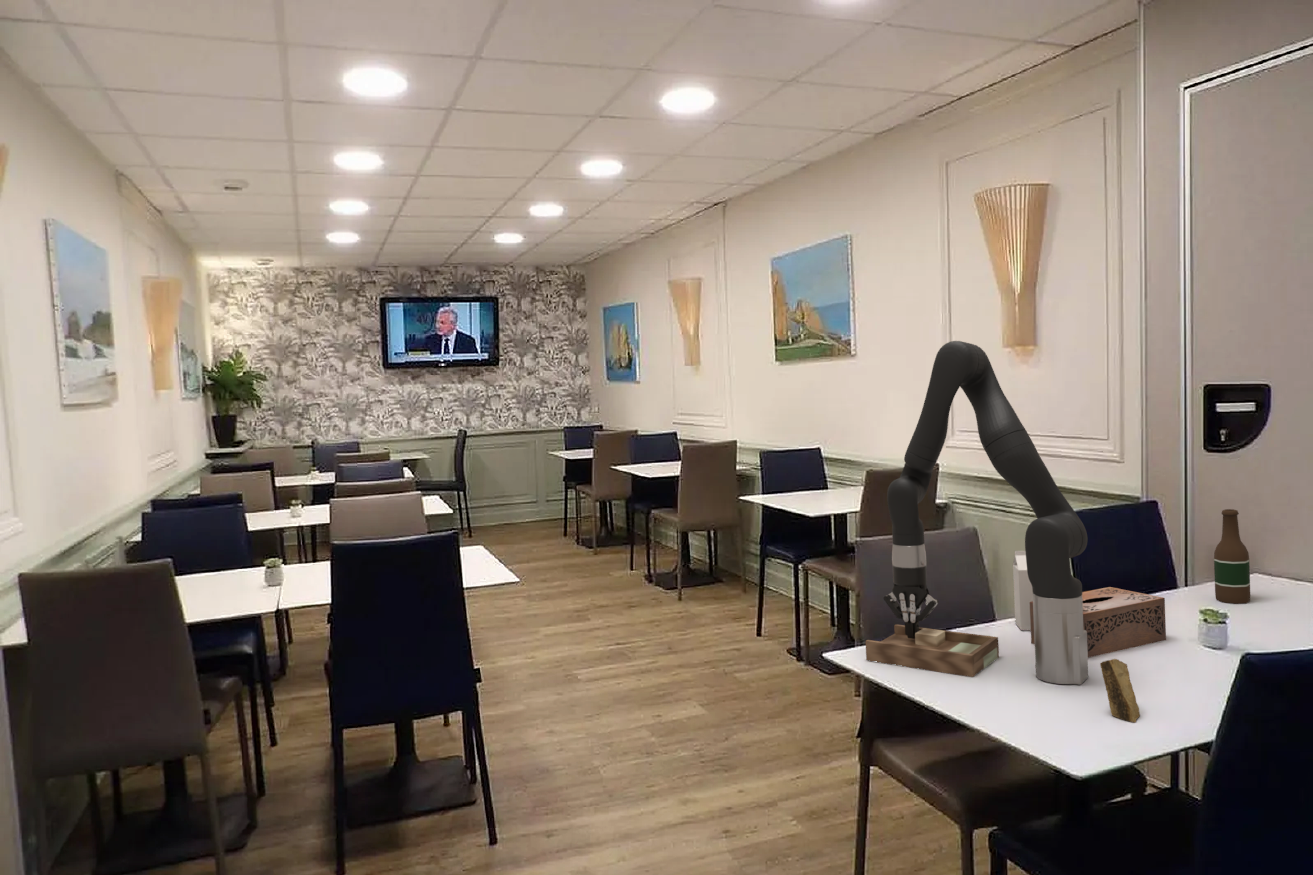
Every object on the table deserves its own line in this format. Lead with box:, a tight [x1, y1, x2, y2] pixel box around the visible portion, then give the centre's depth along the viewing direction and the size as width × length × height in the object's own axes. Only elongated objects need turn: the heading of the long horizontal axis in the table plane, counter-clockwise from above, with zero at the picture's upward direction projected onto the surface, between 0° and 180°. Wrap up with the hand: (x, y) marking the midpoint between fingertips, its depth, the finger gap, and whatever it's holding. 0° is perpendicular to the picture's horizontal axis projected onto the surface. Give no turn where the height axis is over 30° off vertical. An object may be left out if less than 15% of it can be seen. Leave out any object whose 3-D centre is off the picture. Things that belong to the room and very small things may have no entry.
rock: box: [1099, 658, 1141, 724], centre depth 160 cm, size 11×9×10 cm
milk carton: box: [1012, 550, 1033, 631], centre depth 218 cm, size 7×7×19 cm
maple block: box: [915, 627, 946, 647], centre depth 201 cm, size 5×5×2 cm
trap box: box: [865, 623, 1000, 678], centre depth 197 cm, size 24×16×4 cm, turn 50°
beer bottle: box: [1213, 508, 1251, 605], centre depth 231 cm, size 8×8×24 cm
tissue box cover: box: [1030, 586, 1167, 659], centre depth 203 cm, size 26×14×10 cm, turn 113°
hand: (912, 637), depth 204 cm, fingers closed
